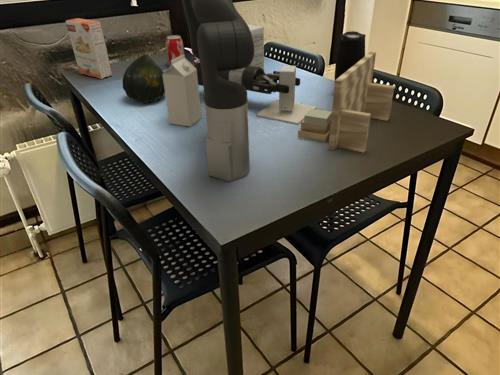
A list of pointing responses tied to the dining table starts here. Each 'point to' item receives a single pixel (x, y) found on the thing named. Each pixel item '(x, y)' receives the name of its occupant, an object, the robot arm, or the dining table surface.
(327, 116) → the sage offcut
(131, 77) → the squash
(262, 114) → the beige mat
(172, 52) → the soda can
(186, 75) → the milk carton
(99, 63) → the cracker box
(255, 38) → the supplement box
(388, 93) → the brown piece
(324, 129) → the oak offcut
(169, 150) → the dining table surface
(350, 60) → the portable speaker
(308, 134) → the pine offcut
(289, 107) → the skincare box
